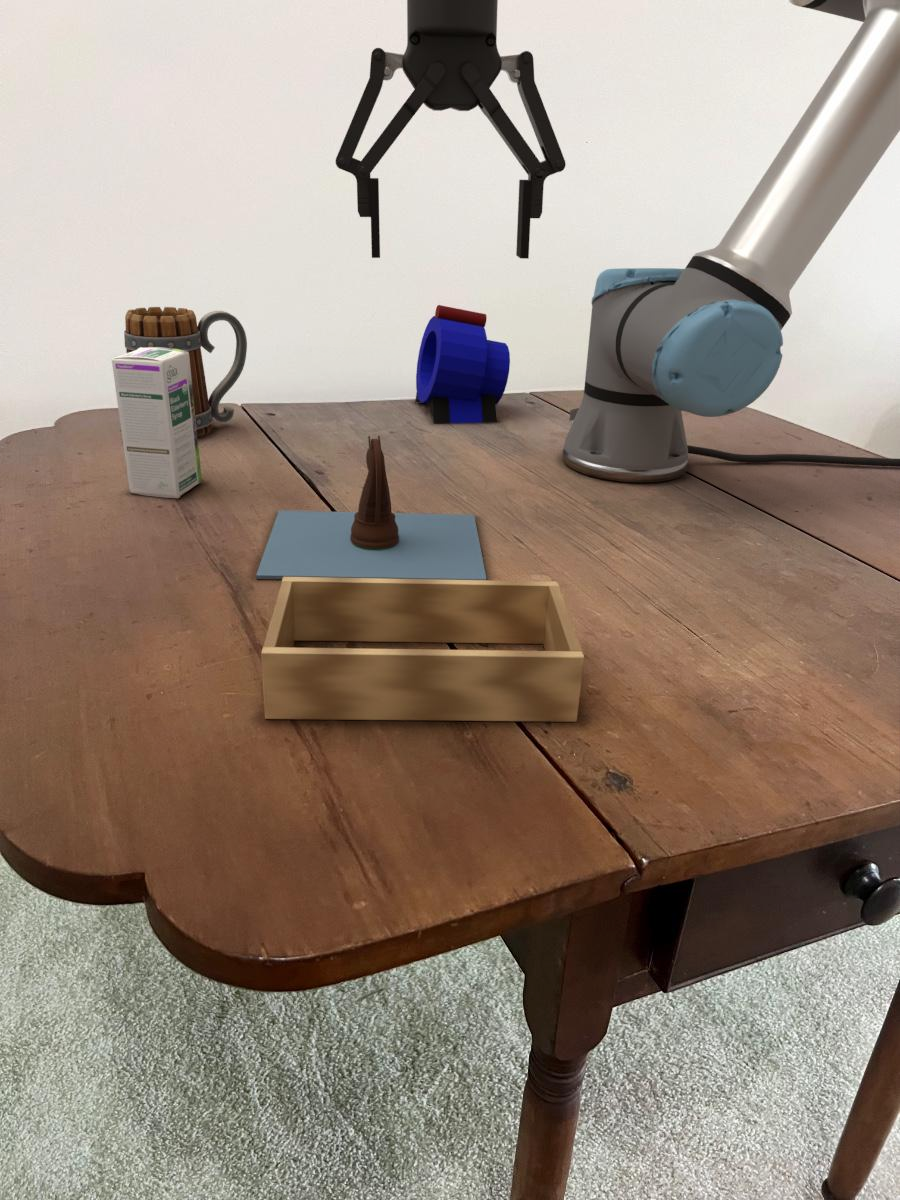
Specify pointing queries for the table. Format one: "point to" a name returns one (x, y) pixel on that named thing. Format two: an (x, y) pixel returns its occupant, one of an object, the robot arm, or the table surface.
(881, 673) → the table surface
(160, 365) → the syrup box
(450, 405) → the alarm clock
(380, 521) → the chess piece
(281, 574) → the mat
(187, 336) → the mug
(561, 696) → the pine box
